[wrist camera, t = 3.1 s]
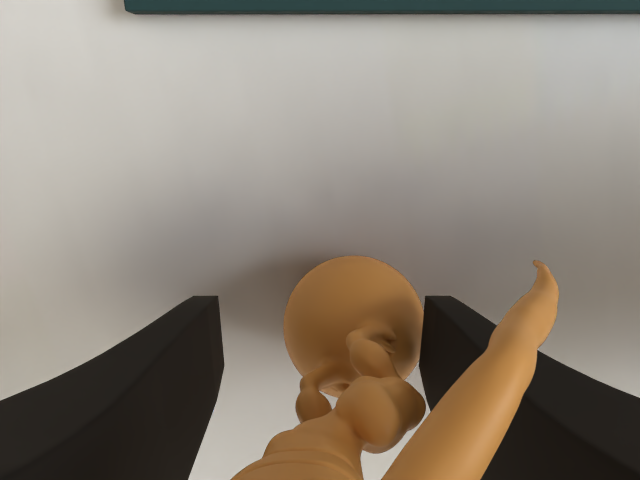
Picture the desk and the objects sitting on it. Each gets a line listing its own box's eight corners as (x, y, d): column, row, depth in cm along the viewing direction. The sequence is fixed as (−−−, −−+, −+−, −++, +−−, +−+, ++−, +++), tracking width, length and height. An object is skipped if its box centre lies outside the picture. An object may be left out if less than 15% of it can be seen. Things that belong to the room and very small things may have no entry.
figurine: (302, 406, 16) (349, 1247, 4) (164, 306, 14) (-360, 1257, 3) (478, 244, 14) (1287, 892, 3) (346, 110, 12) (1020, 341, 1)
